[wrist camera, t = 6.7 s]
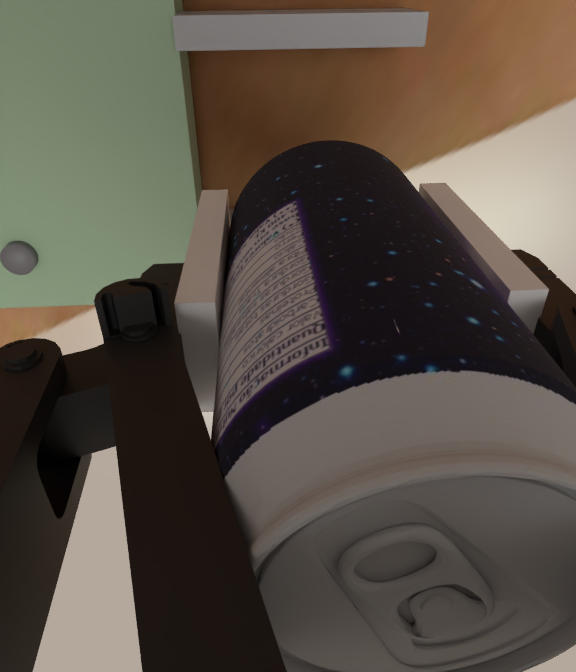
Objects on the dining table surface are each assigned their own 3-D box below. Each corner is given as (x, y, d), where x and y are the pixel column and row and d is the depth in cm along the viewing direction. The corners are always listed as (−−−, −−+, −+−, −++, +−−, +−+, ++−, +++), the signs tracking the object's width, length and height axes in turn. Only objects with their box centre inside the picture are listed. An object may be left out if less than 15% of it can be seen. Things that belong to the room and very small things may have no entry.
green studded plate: (-121, -66, 21) (-190, -74, 18) (411, -70, 22) (439, -80, 19) (3, 282, 30) (-28, 318, 27) (379, 268, 31) (394, 302, 28)
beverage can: (296, 333, 18) (348, 742, 8) (192, 206, 16) (88, 591, 6) (442, 247, 17) (716, 623, 7) (356, 89, 14) (607, 337, 4)
